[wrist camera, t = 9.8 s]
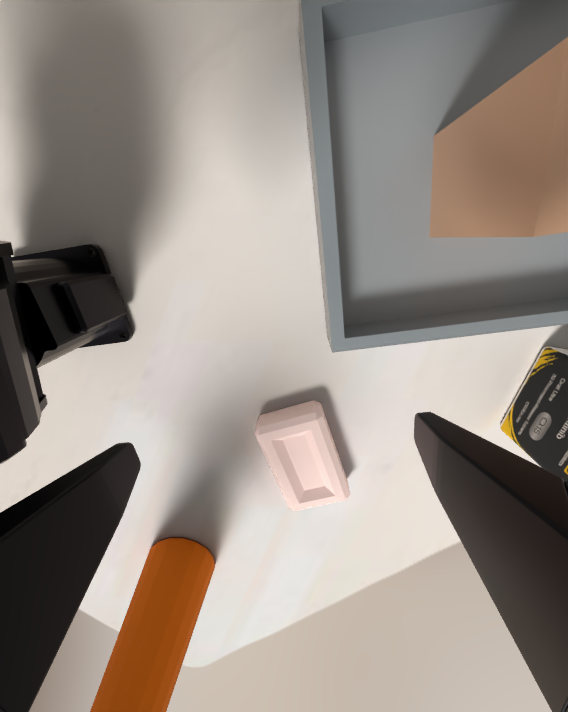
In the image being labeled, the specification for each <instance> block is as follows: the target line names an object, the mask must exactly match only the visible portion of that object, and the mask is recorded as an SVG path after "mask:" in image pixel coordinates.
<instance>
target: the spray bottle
mask: <svg viewBox="0 0 568 712" xmlns="http://www.w3.org/2000/svg"><path fill="white" fill-rule="evenodd" d="M214 568H215V565H214V559H213V556H212V555H211V553H210V552H209V551H208V550H207V548H205V547H204V546H202V545H200V544H199V543H197V542H195V541H192V540H188V539H185V538H169V539H165V540H162V541H159V542H158V543H156V544H155V545H154V546H153V547H152V548H151V549H150V551H149V554H148V557H147V559H146V562H145V565H144V567H143V570H142V573H141V576H140V578H139V581H138V584H137V586H136V589H135V592H134V595H133V597H132V600H131V603H130V605H129V608H128V611H127V614H126V616H125V619H124V622H123V624H122V627H121V630H120V633H119V635H118V638H117V641H116V644H115V646H114V649H113V652H112V654H111V657H110V660H109V662H108V665H107V668H106V671H105V673H104V676H103V679H102V682H101V684H100V687H99V689H98V692H97V695H96V698H95V700H94V703H93V706H92V708H91V711H90V712H166V710H167V707H168V704H169V701H170V698H171V695H172V692H173V689H174V686H175V684H176V681H177V678H178V674H179V672H180V668H181V666H182V663H183V660H184V657H185V654H186V651H187V648H188V645H189V642H190V639H191V636H192V633H193V630H194V627H195V624H196V621H197V618H198V615H199V612H200V609H201V606H202V604H203V601H204V598H205V595H206V592H207V589H208V586H209V583H210V580H211V577H212V574H213V571H214Z"/></svg>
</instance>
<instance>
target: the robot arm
mask: <svg viewBox="0 0 568 712" xmlns="http://www.w3.org/2000/svg"><path fill="white" fill-rule="evenodd" d="M92 249H93V250H94V251H95V254H96V255H95V256H94V255H93V254H92ZM11 255H14V254H13V250H12V245H11V242H6V241H0V464H2V463H4V462H5V461H7V460H9V459H10V458H11V457H13V456H14V455H16V454H17V453H18V452H20V451H21V450H22V449H23V448H24V447H25V446H26V444H27V443H26V439H27V438H28V437H29V436H30V434H31V433H32V432H33V431H34V429H35V428H36V427H37V426H38V425H39V423H40V417H41V412H42V411H43V409H44V408H45V407H46V405H47V399H46V395H44V394H43V392H42V388H41V384H40V379H39V375H38V371H37V368H39V367H41V366H43V365H45V364H47V363H49V362H51V361H53V360H55V359H57V358H58V357H60V356H62V355H64V354H66V353H68V352H70V351H72V350H74V349H76V348H81V347H89V346H96V345H104V344H111V343H119V342H126V341H128V340H130V339H131V338H132V336H133V333H132V330H131V327H130V324H129V322H128V319H127V316H126V310H125V307H124V305H123V302H122V299H121V296H120V294H119V291H118V288H117V285H116V283H115V280H114V277H113V276H112V275H111V272H110V270H109V267H108V264H107V261H106V259H105V256H104V253H103V251H102V249H101V248H100V247H99V246H98V245H95V244H89V245H82V246H77V247H71V248H65V249H59V250H53V251H47V252H41V253H35V254H29V255H23V256H17V257H11ZM122 332H125V333H126V336H124V335H123V334H122ZM414 439H415V443H416V446H417V448H418V451H419V453H420V456H421V458H422V461H423V463H424V466H425V468H426V471H427V473H428V476H429V478H430V481H431V483H432V486H433V488H434V490H435V492H436V494H437V496H438V498H439V500H440V502H441V504H442V506H443V508H444V510H445V512H446V514H447V515H448V517H449V519H450V521H451V523H452V525H453V527H454V529H455V530H456V532H457V534H458V536H459V538H460V540H461V542H462V544H463V545H464V547H465V549H466V551H467V553H468V555H469V557H470V558H471V560H472V562H473V564H474V566H475V568H476V570H477V572H478V573H479V575H480V577H481V579H482V581H483V583H484V585H485V587H486V588H487V590H488V592H489V594H490V596H491V598H492V600H493V602H494V603H495V605H496V607H497V609H498V611H499V613H500V615H501V616H502V618H503V620H504V622H505V624H506V626H507V628H508V630H509V631H510V633H511V635H512V637H513V639H514V641H515V643H516V645H517V647H518V648H519V650H520V652H521V654H522V656H523V658H524V660H525V661H526V663H527V665H528V667H529V669H530V671H531V673H532V675H533V676H534V678H535V680H536V682H537V684H538V686H539V688H540V690H541V692H542V693H543V695H544V697H545V699H546V701H547V703H548V704H549V707H550V708H551V710H552V712H568V481H567V480H565V481H564V480H563V478H561V477H559V476H557V475H555V474H553V473H551V472H549V471H547V470H545V469H543V468H541V467H539V466H537V465H535V464H533V463H531V462H529V461H527V460H525V459H523V458H521V457H519V456H517V455H515V454H513V453H511V452H509V451H507V450H505V449H503V448H501V447H499V446H497V445H495V444H493V443H491V442H489V441H487V440H485V439H483V438H481V437H479V436H477V435H475V434H473V433H471V432H469V431H467V430H465V429H463V428H461V427H459V426H458V425H456V424H454V423H452V422H450V421H448V420H446V419H444V418H442V417H440V416H438V415H436V414H434V413H431V412H423V413H417V414H416V415H415V423H414ZM140 466H141V464H140V460H139V457H138V455H137V453H136V451H135V448H134V446H133V444H131V443H129V442H127V443H118V444H116V445H114V446H112V447H111V448H109V449H107V450H106V451H104V452H102V453H100V454H99V455H97V456H95V457H94V458H92V459H90V460H89V461H87V462H85V463H84V464H82V465H80V466H78V467H77V468H75V469H73V470H72V471H70V472H68V473H67V474H65V475H63V476H62V477H60V478H58V479H57V480H55V481H53V482H51V483H50V484H48V485H46V486H45V487H43V488H41V489H40V490H38V491H36V492H35V493H33V494H31V495H30V496H28V497H26V498H24V499H23V500H21V501H19V502H18V503H16V504H14V505H13V506H11V507H9V508H8V509H6V510H4V511H3V512H1V513H0V712H29V710H30V708H31V706H32V704H33V702H34V700H35V697H36V696H37V694H38V692H39V690H40V687H41V685H42V683H43V681H44V679H45V677H46V675H47V673H48V671H49V669H50V666H51V664H52V662H53V660H54V658H55V656H56V654H57V652H58V650H59V648H60V646H61V643H62V641H63V639H64V637H65V635H66V633H67V631H68V629H69V627H70V625H71V623H72V621H73V618H74V616H75V614H76V612H77V610H78V608H79V606H80V604H81V602H82V600H83V598H84V596H85V593H86V591H87V589H88V587H89V585H90V583H91V581H92V579H93V577H94V575H95V573H96V570H97V568H98V566H99V564H100V562H101V560H102V558H103V556H104V554H105V552H106V550H107V547H108V545H109V543H110V541H111V539H112V537H113V535H114V533H115V531H116V529H117V527H118V525H119V522H120V520H121V518H122V516H123V513H124V511H125V508H126V506H127V503H128V500H129V498H130V495H131V492H132V490H133V487H134V484H135V482H136V479H137V476H138V473H139V471H140Z"/></svg>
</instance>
